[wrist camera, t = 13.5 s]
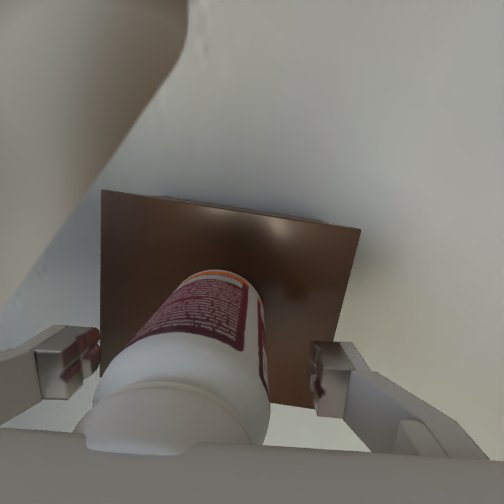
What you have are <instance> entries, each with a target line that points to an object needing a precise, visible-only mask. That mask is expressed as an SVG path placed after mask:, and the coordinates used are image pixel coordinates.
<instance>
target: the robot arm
mask: <svg viewBox="0 0 504 504" xmlns="http://www.w3.org/2000/svg"><path fill="white" fill-rule="evenodd" d="M99 339H100V333H99V330H98V329H97V328H93V327H81V326H69V325H53V326H51V327H50V328H48V329H47V330H45V331H43V332H42V333H40V334H38V335H37V336H35V337H33V338H32V339H30V340H28V341H27V342H25V343H24V344H22V345H20V346H19V347H17V348H15V349H8V350H5V351H2V352H0V425H2V424H3V423H5V422H7V421H8V420H10V419H12V418H13V417H15V416H17V415H18V414H20V413H22V412H24V411H25V410H27V409H29V408H30V407H32V406H34V405H35V404H37V403H39V402H40V401H42V399H52V400H68V399H69V398H70V397H71V396H72V395H73V394H74V393H75V392H76V391H77V390H78V389H79V388H80V387H81V386H82V385H83V379H85V378H87V377H89V376H91V375H92V374H93V373H94V372H95V371H96V370H97V368H98V366H99V364H100V362H101V357H102V351H101V348H100V346H99V345H98V344H97V342H98V341H99ZM309 352H310V355H311V359H310V360H309V361H308V366H307V378H308V384H309V388H310V390H311V391H313V403H314V406H315V410H316V413H317V416H322V417H332V418H343V420H344V421H345V422H346V424H347V425H348V426H349V427H350V428H351V429H352V430H353V431H354V432H355V434H356V435H357V436H358V437H359V438H360V439H361V440H362V441H363V442H364V443H365V445H366V446H367V447H368V448H369V449H370V450H371V451H372V452H358V451H343V450H326V449H311V448H296V447H281V446H266V445H251V444H236V443H222V442H200V443H196V444H194V445H193V446H191V447H190V448H189V449H187V450H186V451H185V452H183V453H181V454H179V455H171V456H162V455H141V454H130V453H114V452H103V451H96V450H91V449H89V448H88V447H87V445H86V436H85V435H84V434H83V433H69V432H54V431H39V430H24V429H9V428H0V504H504V461H494V460H490V459H489V458H488V457H487V455H486V454H485V453H484V452H483V451H482V450H481V449H480V448H479V446H478V445H477V444H476V443H475V442H474V441H473V440H472V439H471V437H470V436H469V435H468V434H467V433H466V432H465V431H464V430H463V428H462V427H461V426H460V425H459V424H458V423H457V422H456V421H455V420H453V419H451V418H450V417H448V416H447V415H445V414H443V413H442V412H440V411H439V410H437V409H435V408H434V407H432V406H431V405H429V404H427V403H426V402H424V401H423V400H421V399H419V398H418V397H416V396H415V395H413V394H411V393H410V392H408V391H406V390H405V389H403V388H402V387H400V386H398V385H397V384H395V383H394V382H392V381H390V380H389V379H387V378H386V377H384V376H382V375H381V374H379V373H378V372H372V371H371V369H370V368H369V366H368V365H367V363H366V362H365V360H364V359H363V357H362V356H361V354H360V353H359V351H358V350H357V348H356V347H355V345H354V344H353V343H352V342H327V341H311V343H310V348H309Z"/></svg>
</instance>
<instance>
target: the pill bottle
mask: <svg viewBox="0 0 504 504" xmlns="http://www.w3.org/2000/svg"><path fill="white" fill-rule="evenodd" d="M269 419H270V399H269V387H268V372H267V354H266V338H265V322H264V310H263V305H262V302H261V299H260V297H259V295H258V293H257V291H256V290H255V289H254V287H253V286H252V285H251V284H250V283H249V282H248V281H247V280H246V279H244V278H243V277H241V276H239V275H237V274H235V273H232V272H230V271H226V270H206V271H202V272H199V273H196V274H194V275H192V276H190V277H189V278H187V279H186V280H185V281H183V282H182V283H181V284H180V286H179V287H178V288H177V289H176V290H175V291H174V292H173V293H172V294H171V296H170V297H169V298H168V299H167V300H166V301H165V302H164V304H163V305H162V306H161V307H160V308H159V309H158V310H157V311H156V312H155V314H154V315H153V316H152V317H151V318H150V319H149V320H148V322H147V323H146V324H145V325H144V326H143V327H142V328H141V329H140V331H139V332H138V333H137V334H136V335H135V336H134V337H133V338H132V339H131V340H130V341H129V343H128V344H127V345H126V346H125V347H124V348H123V349H122V350H121V351H120V352H119V353H118V354H117V355H116V356H115V357H114V359H113V360H112V361H111V363H110V364H109V366H108V367H107V369H106V370H105V372H104V374H103V376H102V377H101V379H100V381H99V384H98V386H97V389H96V391H95V395H94V400H93V407H92V409H91V410H90V411H88V412H87V413H86V414H85V415H84V417H83V418H82V419H81V420H80V422H79V423H78V424H77V426H76V427H75V429H74V430H73V432H72V433H83V434H84V435H85V436H86V445H87V447H88V448H89V449H91V450H96V451H103V452H114V453H130V454H141V455H162V456H171V455H179V454H181V453H183V452H185V451H186V450H187V449H189V448H190V447H191V446H193V445H194V444H196V443H200V442H222V443H236V444H251V445H262V444H263V442H264V439H265V436H266V433H267V429H268V424H269Z"/></svg>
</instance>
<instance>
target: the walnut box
mask: <svg viewBox="0 0 504 504" xmlns="http://www.w3.org/2000/svg"><path fill="white" fill-rule="evenodd" d="M360 233H361V230H360V229H358V228H353V227H346V226H340V225H333V224H329V223H326V222H323V221H321V220H316V219H310V218H303V217H297V216H290V215H284V214H277V213H271V212H264V211H258V210H251V209H245V208H238V207H232V206H225V205H219V204H212V203H206V202H199V201H193V200H186V199H180V198H173V197H167V196H145V195H138V194H132V193H125V192H119V191H112V190H101V271H100V348H101V351H102V357H101V362H100V377H102V376H103V374H104V372H105V370H106V369H107V367H108V366H109V364H110V363H111V361H112V360H113V359H114V357H115V356H116V355H117V354H118V353H119V352H120V351H121V350H122V349H123V348H124V347H125V346H126V345H127V344H128V343H129V341H130V340H131V339H132V338H133V337H134V336H135V335H136V334H137V333H138V332H139V331H140V329H141V328H142V327H143V326H144V325H145V324H146V323H147V322H148V320H149V319H150V318H151V317H152V316H153V315H154V314H155V312H156V311H157V310H158V309H159V308H160V307H161V306H162V305H163V304H164V302H165V301H166V300H167V299H168V298H169V297H170V296H171V294H172V293H173V292H174V291H175V290H176V289H177V288H178V287H179V286H180V284H181V283H182V282H183V281H185V280H186V279H187V278H189V277H190V276H192V275H194V274H196V273H199V272H202V271H206V270H226V271H230V272H232V273H235V274H237V275H239V276H241V277H243V278H244V279H246V280H247V281H248V282H249V283H250V284H251V285H252V286H253V287H254V289H255V290H256V291H257V293H258V295H259V297H260V299H261V302H262V305H263V310H264V322H265V338H266V354H267V372H268V387H269V399H270V403H276V404H283V405H289V406H296V407H303V408H309V409H315V406H314V403H313V391H311V390H310V388H309V384H308V378H307V366H308V361H309V360H310V359H311V355H310V352H309V348H310V343H311V341H327V342H333V339H334V335H335V331H336V327H337V323H338V320H339V316H340V312H341V308H342V304H343V300H344V296H345V292H346V288H347V284H348V280H349V276H350V272H351V268H352V265H353V261H354V257H355V253H356V249H357V245H358V241H359V237H360Z"/></svg>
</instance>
